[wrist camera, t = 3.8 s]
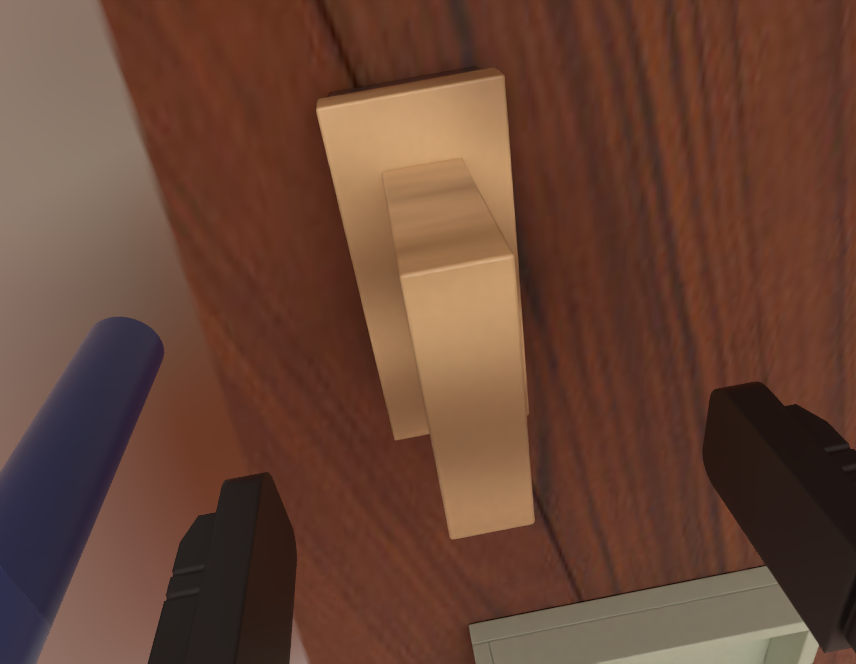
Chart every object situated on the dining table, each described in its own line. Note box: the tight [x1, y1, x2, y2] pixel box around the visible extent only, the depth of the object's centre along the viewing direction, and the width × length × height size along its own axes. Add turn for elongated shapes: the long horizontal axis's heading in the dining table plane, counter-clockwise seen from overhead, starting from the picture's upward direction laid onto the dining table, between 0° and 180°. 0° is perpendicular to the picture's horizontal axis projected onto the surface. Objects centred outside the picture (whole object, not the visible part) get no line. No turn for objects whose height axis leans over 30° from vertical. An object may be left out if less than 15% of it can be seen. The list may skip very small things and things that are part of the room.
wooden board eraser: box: [316, 66, 535, 539], centre depth 16 cm, size 10×4×8 cm, turn 8°
